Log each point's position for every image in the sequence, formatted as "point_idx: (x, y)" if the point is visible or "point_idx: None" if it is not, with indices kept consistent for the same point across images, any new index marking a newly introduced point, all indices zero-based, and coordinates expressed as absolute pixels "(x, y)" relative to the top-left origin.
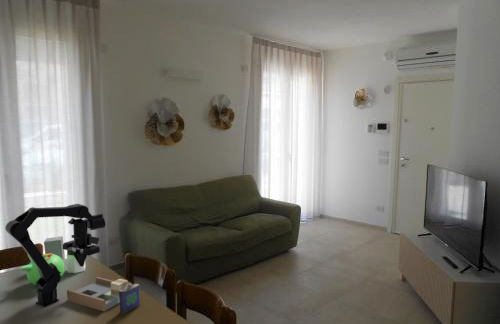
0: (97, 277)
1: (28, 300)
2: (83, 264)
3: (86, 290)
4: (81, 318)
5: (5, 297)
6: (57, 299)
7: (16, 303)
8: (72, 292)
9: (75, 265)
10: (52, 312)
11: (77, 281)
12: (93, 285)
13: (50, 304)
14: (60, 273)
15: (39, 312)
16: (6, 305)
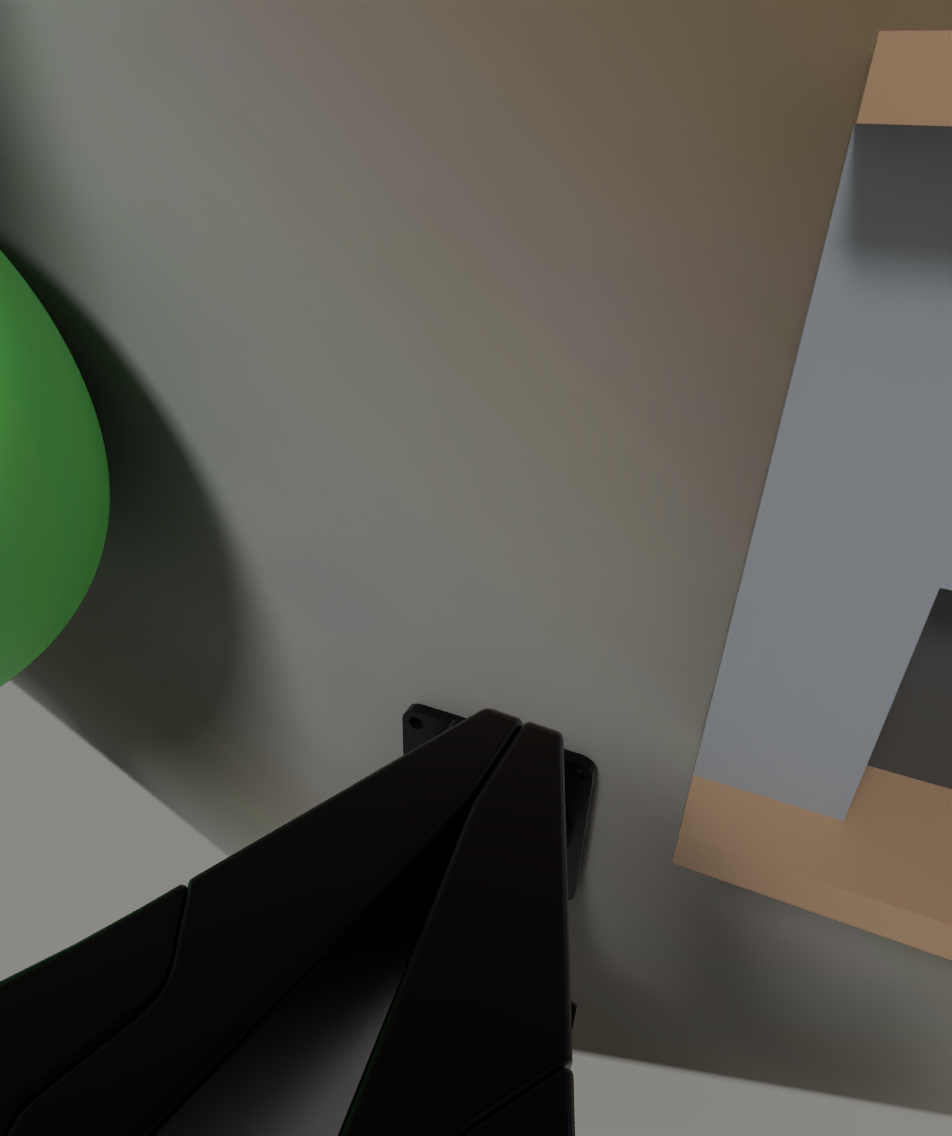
0: (918, 76)
1: (279, 762)
2: (562, 794)
3: (928, 605)
4: None
5: (72, 725)
6: (567, 767)
7: (252, 814)
8: (834, 910)
9: None
10: (764, 985)
11: (242, 80)
12: (948, 358)
13: (583, 849)
14: (9, 400)
15: (616, 969)
16: (225, 844)
